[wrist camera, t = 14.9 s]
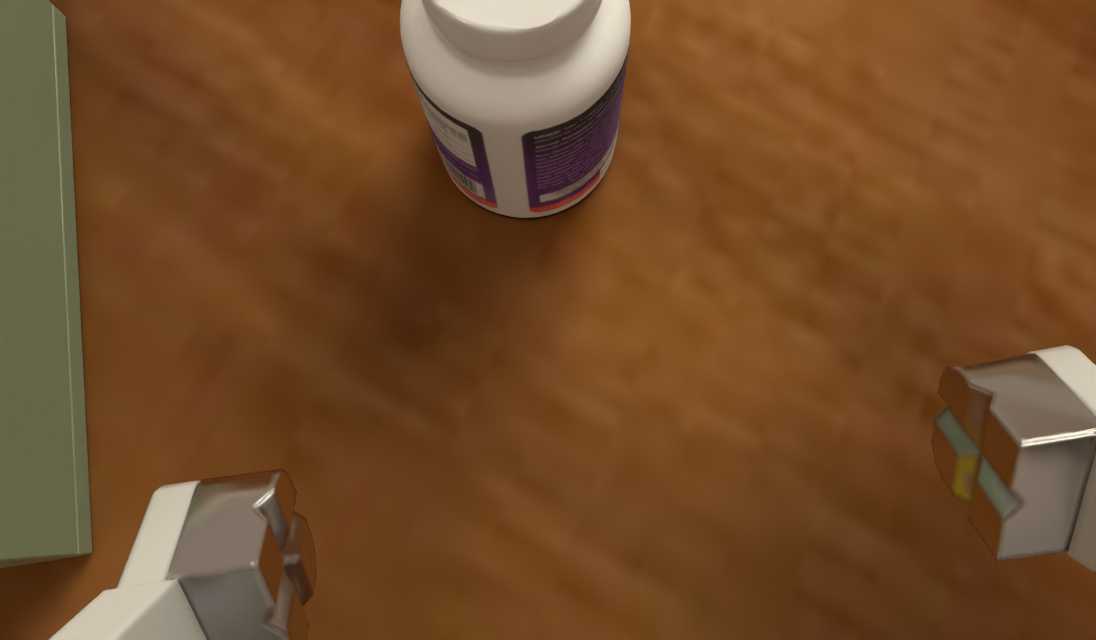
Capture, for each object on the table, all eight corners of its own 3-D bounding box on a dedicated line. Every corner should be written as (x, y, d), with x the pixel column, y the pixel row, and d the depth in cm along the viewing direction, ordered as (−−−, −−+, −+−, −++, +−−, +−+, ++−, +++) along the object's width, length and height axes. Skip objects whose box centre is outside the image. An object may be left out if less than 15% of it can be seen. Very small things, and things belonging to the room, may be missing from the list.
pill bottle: (621, 61, 28) (652, -166, 19) (609, 228, 27) (635, 75, 18) (447, 49, 29) (391, -182, 19) (428, 215, 28) (359, 56, 18)
